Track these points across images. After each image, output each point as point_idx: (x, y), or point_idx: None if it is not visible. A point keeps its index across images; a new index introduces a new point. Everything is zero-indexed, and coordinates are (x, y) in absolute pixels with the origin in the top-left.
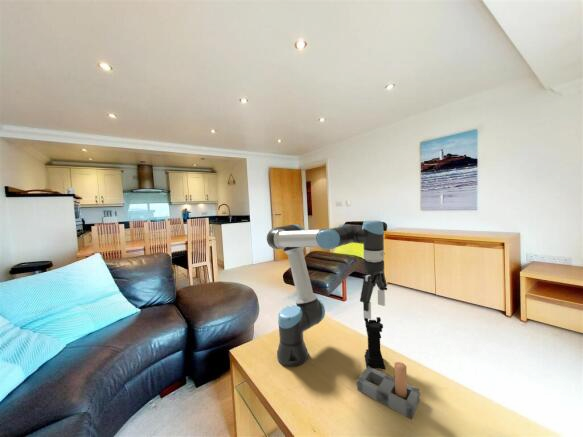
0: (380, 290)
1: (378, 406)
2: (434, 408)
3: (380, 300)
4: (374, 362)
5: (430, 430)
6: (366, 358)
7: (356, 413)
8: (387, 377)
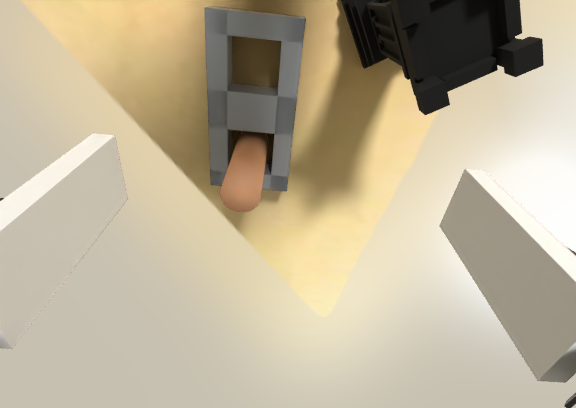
0: (569, 343)
1: (197, 92)
2: (279, 205)
3: (477, 226)
4: (360, 28)
5: (215, 204)
6: None
7: (128, 42)
8: (285, 105)
